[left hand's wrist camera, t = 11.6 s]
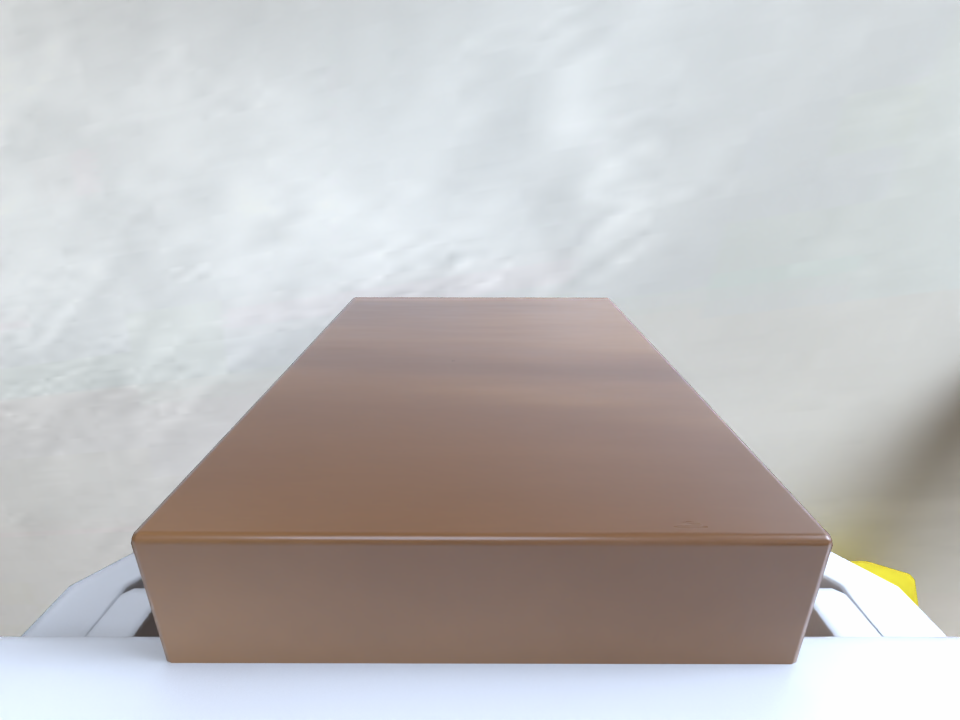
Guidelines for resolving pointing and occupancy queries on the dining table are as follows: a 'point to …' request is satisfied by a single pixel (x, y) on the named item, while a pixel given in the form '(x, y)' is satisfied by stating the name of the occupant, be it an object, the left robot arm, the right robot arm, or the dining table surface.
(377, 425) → the box
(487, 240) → the dining table surface
